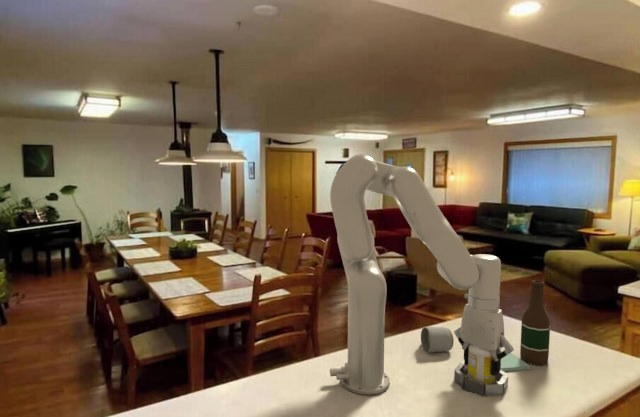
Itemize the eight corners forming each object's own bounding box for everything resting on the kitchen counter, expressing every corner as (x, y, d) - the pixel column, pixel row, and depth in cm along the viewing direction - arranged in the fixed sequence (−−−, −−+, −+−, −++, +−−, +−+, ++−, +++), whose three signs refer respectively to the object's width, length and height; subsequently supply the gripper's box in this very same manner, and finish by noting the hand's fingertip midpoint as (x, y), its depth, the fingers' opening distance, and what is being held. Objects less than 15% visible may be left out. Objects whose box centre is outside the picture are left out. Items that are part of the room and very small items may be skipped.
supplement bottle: (496, 381, 110) (498, 334, 109) (492, 392, 104) (494, 343, 103) (470, 374, 113) (471, 329, 112) (465, 385, 108) (466, 337, 106)
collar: (470, 398, 102) (471, 386, 101) (447, 373, 114) (448, 363, 114) (516, 393, 104) (517, 382, 103) (489, 370, 116) (489, 360, 115)
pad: (497, 372, 115) (497, 368, 115) (478, 356, 125) (478, 353, 125) (529, 369, 116) (530, 366, 116) (508, 354, 126) (508, 350, 126)
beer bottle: (552, 367, 118) (557, 285, 115) (523, 365, 119) (527, 283, 117) (543, 355, 125) (547, 278, 123) (516, 353, 127) (519, 277, 125)
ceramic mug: (455, 354, 126) (455, 330, 125) (429, 356, 124) (430, 332, 124) (438, 341, 136) (439, 318, 136) (415, 343, 135) (416, 320, 134)
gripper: (446, 297, 111) (444, 361, 112) (510, 314, 98) (507, 386, 99) (461, 292, 116) (459, 353, 117) (524, 307, 103) (521, 376, 104)
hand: (481, 367), depth 108 cm, fingers closed on supplement bottle, 6 cm apart
